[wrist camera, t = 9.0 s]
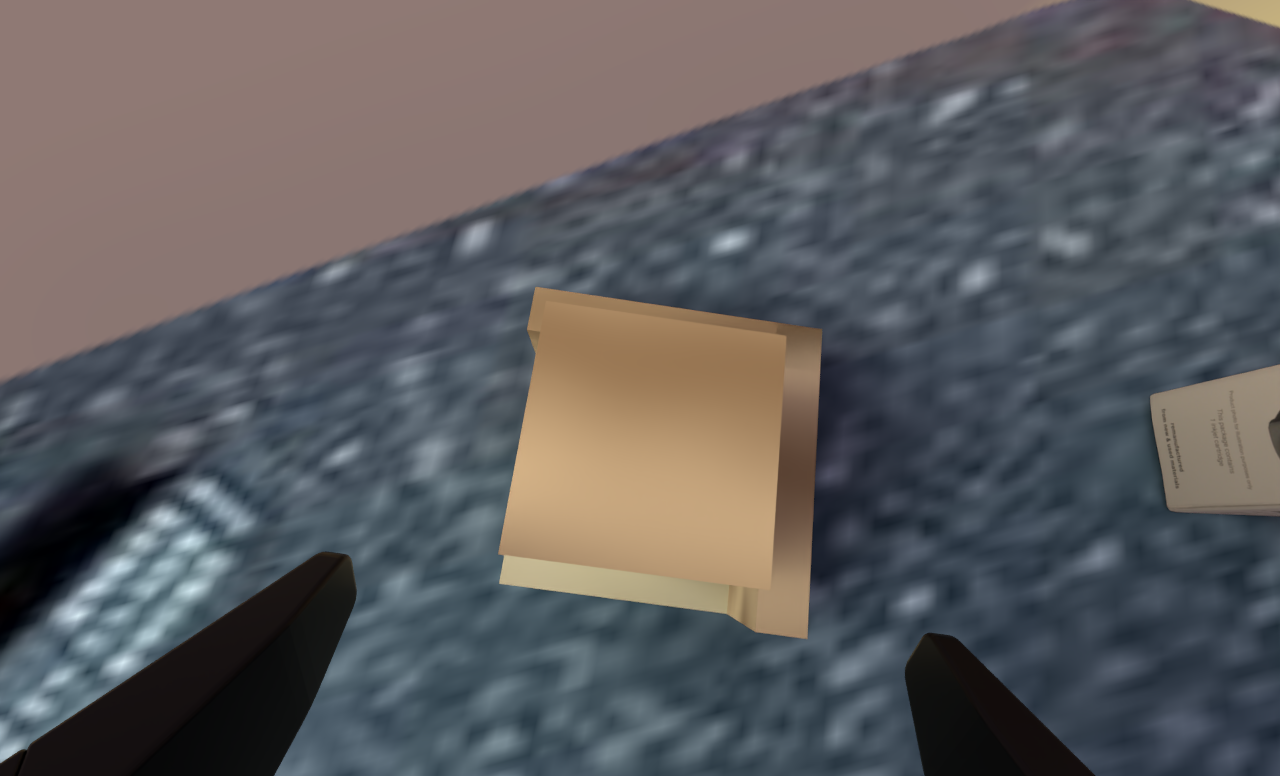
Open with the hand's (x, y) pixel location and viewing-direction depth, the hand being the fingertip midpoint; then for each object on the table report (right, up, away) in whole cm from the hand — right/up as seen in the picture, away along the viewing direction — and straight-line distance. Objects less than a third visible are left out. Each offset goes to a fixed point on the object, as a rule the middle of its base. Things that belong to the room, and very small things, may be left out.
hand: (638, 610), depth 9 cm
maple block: (0, 0, +12) cm, 12 cm away
